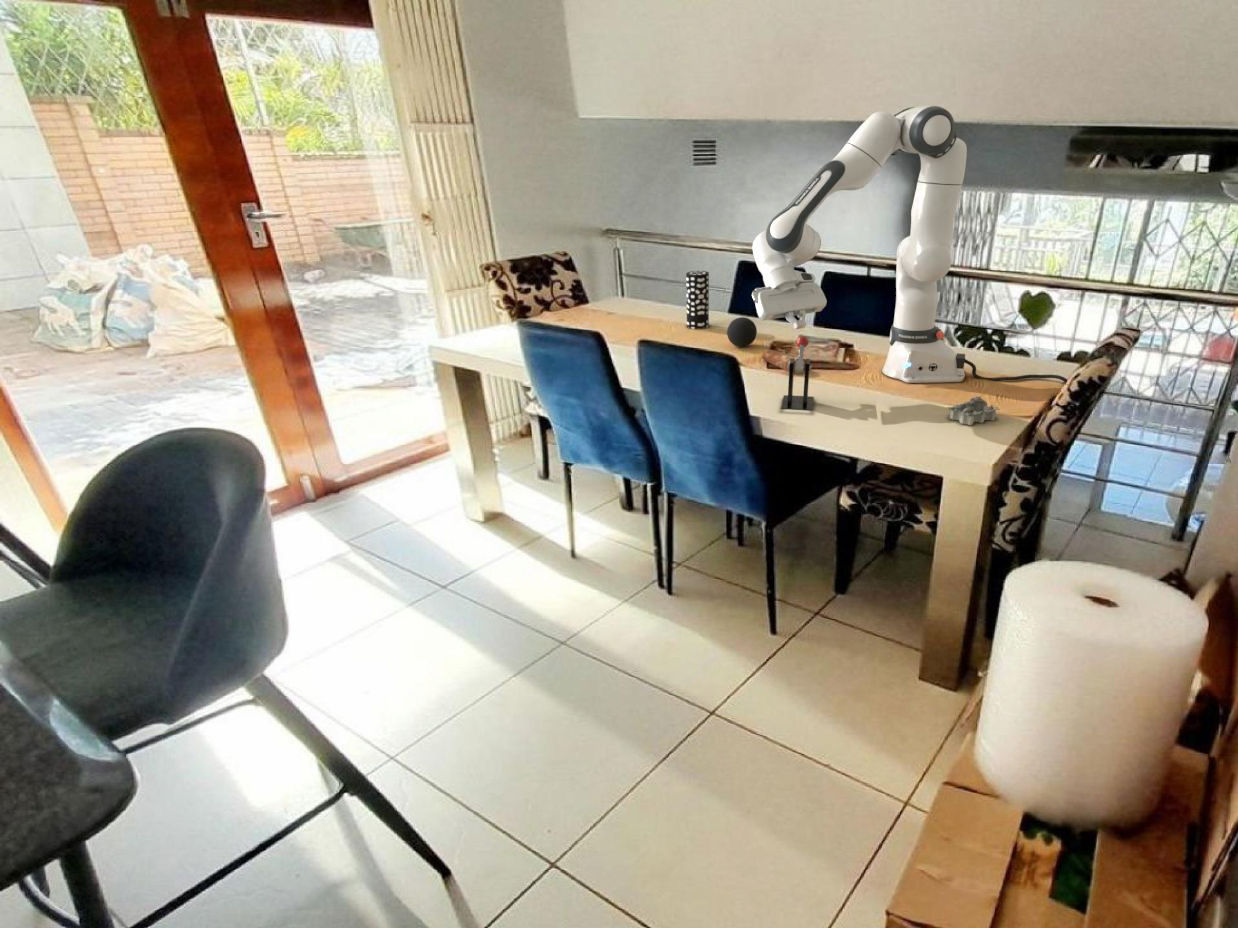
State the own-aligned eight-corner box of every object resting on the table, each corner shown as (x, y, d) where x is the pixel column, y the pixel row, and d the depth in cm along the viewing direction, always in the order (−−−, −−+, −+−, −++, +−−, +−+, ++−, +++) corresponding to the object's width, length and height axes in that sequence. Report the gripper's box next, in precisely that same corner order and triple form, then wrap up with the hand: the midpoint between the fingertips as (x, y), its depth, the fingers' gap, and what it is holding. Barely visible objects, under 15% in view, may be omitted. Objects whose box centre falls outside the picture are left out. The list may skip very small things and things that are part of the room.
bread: (790, 378, 211) (791, 360, 208) (758, 361, 227) (759, 344, 224) (808, 374, 212) (810, 357, 210) (775, 358, 229) (776, 341, 226)
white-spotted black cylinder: (712, 324, 270) (712, 271, 262) (702, 329, 264) (702, 276, 255) (692, 322, 274) (692, 270, 266) (683, 327, 268) (682, 274, 260)
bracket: (783, 399, 195) (785, 354, 190) (813, 400, 193) (816, 355, 188) (780, 412, 187) (782, 366, 181) (811, 414, 185) (814, 367, 179)
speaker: (751, 351, 236) (752, 322, 232) (723, 349, 241) (723, 320, 236) (759, 343, 244) (760, 315, 240) (732, 341, 248) (732, 313, 244)
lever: (796, 342, 194) (797, 333, 191) (808, 342, 193) (809, 334, 190) (792, 375, 186) (793, 366, 184) (805, 375, 185) (805, 367, 183)
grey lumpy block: (978, 410, 181) (981, 395, 179) (1000, 420, 175) (1004, 405, 173) (943, 416, 179) (946, 401, 177) (964, 426, 172) (967, 411, 170)
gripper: (754, 282, 189) (772, 326, 185) (818, 273, 195) (837, 316, 191) (745, 296, 194) (762, 339, 190) (808, 287, 200) (826, 328, 196)
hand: (800, 327), depth 191 cm, fingers closed
